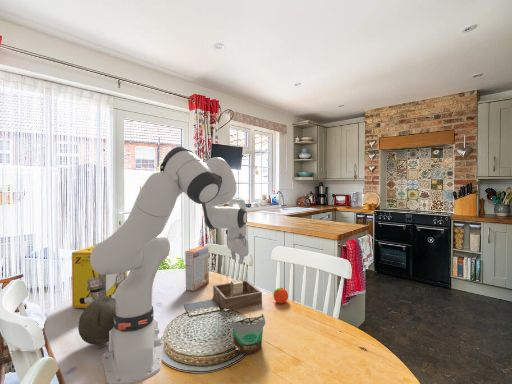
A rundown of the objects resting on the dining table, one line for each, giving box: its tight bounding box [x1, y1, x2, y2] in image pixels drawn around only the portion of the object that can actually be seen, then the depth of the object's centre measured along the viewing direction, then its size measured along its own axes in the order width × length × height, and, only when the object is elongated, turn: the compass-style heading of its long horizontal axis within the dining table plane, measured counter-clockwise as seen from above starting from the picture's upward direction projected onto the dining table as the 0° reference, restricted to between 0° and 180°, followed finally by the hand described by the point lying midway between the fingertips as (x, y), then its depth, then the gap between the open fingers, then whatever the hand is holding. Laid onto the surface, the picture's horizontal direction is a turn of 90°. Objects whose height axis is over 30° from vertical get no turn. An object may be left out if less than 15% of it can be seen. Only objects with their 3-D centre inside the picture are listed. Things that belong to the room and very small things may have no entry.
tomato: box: [272, 287, 289, 304], centre depth 124 cm, size 8×7×7 cm
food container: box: [230, 313, 266, 355], centre depth 88 cm, size 12×6×10 cm, turn 114°
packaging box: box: [71, 244, 128, 309], centre depth 127 cm, size 16×16×25 cm
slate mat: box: [183, 298, 221, 312], centre depth 119 cm, size 12×14×1 cm
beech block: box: [230, 279, 244, 297], centre depth 127 cm, size 4×4×9 cm
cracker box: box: [184, 245, 210, 292], centre depth 145 cm, size 14×6×21 cm, turn 156°
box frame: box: [212, 279, 263, 311], centre depth 128 cm, size 18×18×6 cm
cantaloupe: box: [77, 296, 116, 346], centre depth 93 cm, size 14×14×15 cm
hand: (237, 261), depth 127 cm, fingers open, 8 cm apart
